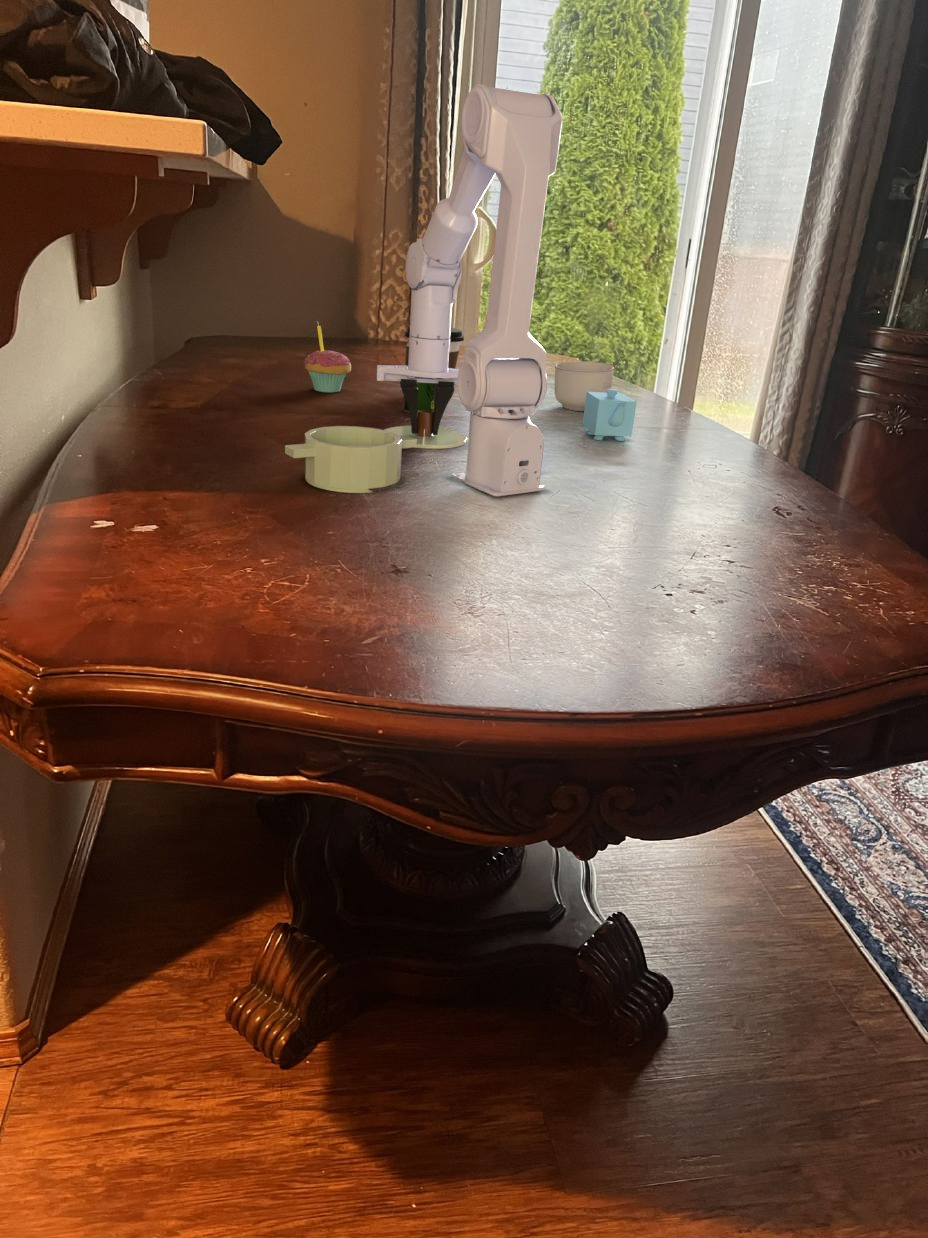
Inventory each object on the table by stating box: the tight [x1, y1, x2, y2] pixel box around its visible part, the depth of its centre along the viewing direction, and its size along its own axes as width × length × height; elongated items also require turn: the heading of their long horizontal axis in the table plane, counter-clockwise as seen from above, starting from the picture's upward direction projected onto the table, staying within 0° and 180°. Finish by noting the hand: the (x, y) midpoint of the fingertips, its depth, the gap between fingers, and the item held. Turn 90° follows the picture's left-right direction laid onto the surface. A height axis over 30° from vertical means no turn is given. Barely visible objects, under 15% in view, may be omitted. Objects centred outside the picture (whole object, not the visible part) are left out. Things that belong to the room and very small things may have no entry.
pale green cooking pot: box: [284, 425, 417, 494], centre depth 110 cm, size 12×17×5 cm
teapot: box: [582, 388, 638, 442], centre depth 143 cm, size 12×6×8 cm, turn 9°
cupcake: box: [303, 320, 352, 393], centre depth 163 cm, size 9×8×12 cm
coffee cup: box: [404, 325, 465, 380], centre depth 166 cm, size 11×11×12 cm
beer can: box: [402, 338, 437, 413], centre depth 149 cm, size 5×5×12 cm
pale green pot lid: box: [384, 410, 468, 450], centre depth 131 cm, size 13×13×5 cm
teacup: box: [554, 360, 615, 412], centre depth 167 cm, size 14×11×8 cm
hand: (424, 432), depth 132 cm, fingers closed on pale green pot lid, 2 cm apart
